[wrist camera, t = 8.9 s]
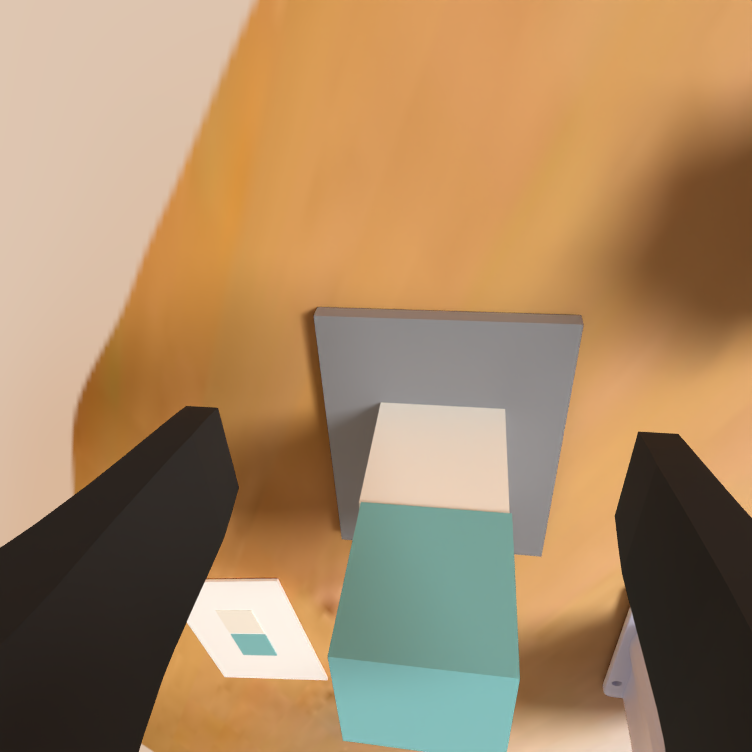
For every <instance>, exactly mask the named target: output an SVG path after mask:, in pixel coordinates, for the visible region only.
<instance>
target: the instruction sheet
mask: <svg viewBox="0 0 752 752" xmlns="http://www.w3.org/2000/svg"><path fill="white" fill-rule="evenodd" d="M187 623H188V624H189V626H190V627H191V629H192V630H193V632H194V633H195V635H196V636H197V637H198V639H199V640H200V642H201V643H202V645H203V646H204V648H205V649H206V651H207V652H208V653H209V655H210V656H211V658H212V659H213V661H214V662H215V664H216V665H217V667H218V668H219V669H220V671H221V672H222V674H223V675H224V677H240V678H273V679H305V680H328V677H327V675H326V673H325V671H324V669H323V667H322V665H321V663H320V661H319V659H318V657H317V655H316V653H315V651H314V649H313V647H312V645H311V643H310V641H309V639H308V637H307V635H306V633H305V631H304V629H303V627H302V625H301V623H300V621H299V619H298V617H297V615H296V613H295V611H294V609H293V607H292V605H291V603H290V602H289V600H288V598H287V596H286V594H285V592H284V590H283V588H282V586H281V584H280V582H279V580H278V578H272V579H206V580H205V582H204V585H203V587H202V589H201V591H200V594H199V596H198V598H197V600H196V602H195V605H194V607H193V609H192V611H191V614H190V616H189V618H188V620H187Z"/></svg>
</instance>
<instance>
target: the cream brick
mask: <svg viewBox="0 0 752 752" xmlns="http://www.w3.org/2000/svg"><path fill="white" fill-rule="evenodd" d="M361 502H369V503H382V504H395V505H408V506H421V507H434V508H447V509H460V510H473V511H487V512H500V513H510V512H509V488H508V465H507V442H506V419H505V409H496V408H477V407H458V406H440V405H421V404H402V403H383V402H381V404H380V408H379V413H378V417H377V422H376V427H375V431H374V436H373V440H372V445H371V450H370V454H369V459H368V463H367V468H366V473H365V477H364V482H363V486H362V491H361V495H360V500H359V508H360V504H361Z"/></svg>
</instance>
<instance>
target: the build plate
mask: <svg viewBox="0 0 752 752" xmlns="http://www.w3.org/2000/svg"><path fill="white" fill-rule="evenodd" d="M314 323H315V331H316V339H317V347H318V355H319V362H320V370H321V378H322V386H323V394H324V402H325V410H326V418H327V425H328V433H329V441H330V449H331V457H332V465H333V473H334V481H335V489H336V496H337V504H338V512H339V520H340V528H341V536H342V539H346V540H353V536H354V532H355V527H356V522H357V518H358V513H359V500H360V495H361V491H362V486H363V482H364V477H365V473H366V468H367V463H368V459H369V454H370V450H371V445H372V440H373V436H374V431H375V427H376V422H377V417H378V413H379V408H380V404H381V402H383V403H402V404H421V405H440V406H458V407H477V408H496V409H505V419H506V442H507V465H508V488H509V512H510V513H512V522H513V543H514V554H518V555H530V556H541V555H542V550H543V544H544V539H545V533H546V528H547V522H548V517H549V512H550V506H551V501H552V495H553V490H554V484H555V479H556V473H557V468H558V462H559V457H560V451H561V446H562V440H563V435H564V429H565V424H566V418H567V413H568V407H569V402H570V396H571V391H572V385H573V380H574V374H575V369H576V363H577V358H578V352H579V347H580V341H581V336H582V330H583V325H584V324H583V320H582V316H581V315H559V314H527V313H494V312H461V311H428V310H396V309H363V308H330V307H317V309H316V311H315V314H314Z"/></svg>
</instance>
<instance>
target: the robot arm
mask: <svg viewBox="0 0 752 752" xmlns="http://www.w3.org/2000/svg"><path fill="white" fill-rule="evenodd" d="M238 489H239V486H238V482H237V479H236V475H235V471H234V467H233V463H232V460H231V456H230V452H229V448H228V444H227V441H226V437H225V433H224V429H223V425H222V422H221V418H220V414H219V410H218V408H210V407H193V406H186V407H184V408H183V409H182V410H180V411H179V412H178V413H176V414H175V415H174V416H173V417H171V418H170V419H169V420H168V421H166V422H165V423H164V424H163V425H161V426H160V427H159V428H158V429H157V430H155V431H154V432H153V433H152V434H150V435H149V436H148V437H147V438H146V439H144V440H143V441H142V442H141V443H140V444H138V445H137V446H136V447H135V448H133V449H132V450H131V451H130V452H129V453H127V454H126V455H125V456H124V457H122V458H121V459H120V460H119V461H117V462H116V463H115V464H114V465H112V466H111V467H110V468H109V469H107V470H106V471H105V472H104V473H102V474H101V475H100V476H99V477H97V478H96V479H95V480H94V481H92V482H91V483H90V484H89V485H87V486H86V487H85V488H83V489H82V490H81V491H79V492H78V493H76V494H75V495H74V496H72V497H71V498H70V499H68V500H67V501H66V502H64V503H63V504H62V505H60V506H59V507H58V508H56V509H55V510H54V511H52V512H51V513H50V514H48V515H47V516H46V517H44V518H43V519H41V520H40V521H39V522H37V523H36V524H35V525H33V526H32V527H30V528H29V529H28V530H26V531H24V532H23V533H22V534H20V535H19V536H17V537H16V538H14V539H13V540H11V541H10V542H8V543H7V544H5V545H4V546H2V547H1V548H0V752H139V749H140V746H141V742H142V739H143V736H144V733H145V730H146V727H147V724H148V721H149V718H150V715H151V712H152V709H153V706H154V703H155V700H156V697H157V694H158V691H159V688H160V685H161V682H162V679H163V677H164V674H165V672H166V669H167V667H168V664H169V662H170V659H171V657H172V654H173V652H174V649H175V647H176V645H177V643H178V640H179V638H180V636H181V634H182V631H183V629H184V627H185V625H186V623H187V620H188V618H189V616H190V614H191V611H192V609H193V607H194V605H195V602H196V600H197V598H198V596H199V594H200V591H201V589H202V587H203V585H204V582H205V580H206V578H207V576H208V573H209V571H210V569H211V567H212V564H213V562H214V560H215V557H216V555H217V553H218V551H219V548H220V546H221V544H222V541H223V539H224V536H225V533H226V530H227V526H228V523H229V520H230V517H231V513H232V510H233V506H234V503H235V499H236V496H237V492H238ZM615 522H616V531H617V539H618V548H619V555H620V562H621V569H622V575H623V579H624V583H625V587H626V591H627V595H628V599H629V603H630V608H629V611H628V614H627V617H626V620H625V623H624V626H623V628H622V631H621V634H620V637H619V640H618V643H617V646H616V648H615V651H614V654H613V657H612V660H611V663H610V666H609V669H608V671H607V674H606V677H605V680H604V683H603V692H604V694H605V695H607V696H610V697H617V698H623V701H624V707H625V712H626V718H627V724H628V729H629V735H630V740H631V746H632V751H633V752H752V518H751V517H750V516H749V515H748V513H747V512H746V511H745V510H744V509H743V508H742V507H741V506H740V504H739V503H738V502H737V501H736V500H735V499H734V498H733V497H732V495H731V494H730V493H729V492H728V491H727V490H726V489H725V487H724V486H723V485H722V484H721V483H720V482H719V481H718V479H717V478H716V477H715V476H714V475H713V474H712V472H711V471H710V470H709V469H708V468H707V467H706V465H705V464H704V463H703V462H702V461H701V460H700V458H699V457H698V456H697V455H696V454H695V453H694V451H693V450H692V449H691V448H690V447H689V446H688V445H687V443H686V442H685V441H684V440H683V439H682V438H681V437H680V436H679V434H669V433H652V432H638V435H637V438H636V442H635V446H634V449H633V453H632V456H631V460H630V463H629V467H628V471H627V474H626V478H625V481H624V485H623V488H622V492H621V496H620V499H619V503H618V506H617V510H616V514H615Z"/></svg>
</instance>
